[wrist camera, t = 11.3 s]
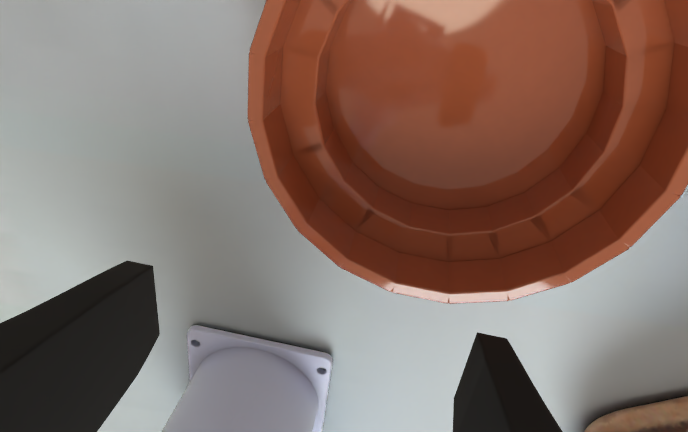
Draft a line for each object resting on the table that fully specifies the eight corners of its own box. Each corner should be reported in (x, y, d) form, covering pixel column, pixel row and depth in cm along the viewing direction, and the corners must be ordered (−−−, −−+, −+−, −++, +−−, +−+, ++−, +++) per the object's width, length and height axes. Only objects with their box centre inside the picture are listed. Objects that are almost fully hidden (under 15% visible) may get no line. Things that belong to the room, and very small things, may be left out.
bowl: (572, 263, 20) (606, 336, 16) (278, 207, 21) (244, 263, 17) (734, -100, 14) (854, -123, 10) (300, -153, 15) (253, -193, 11)
